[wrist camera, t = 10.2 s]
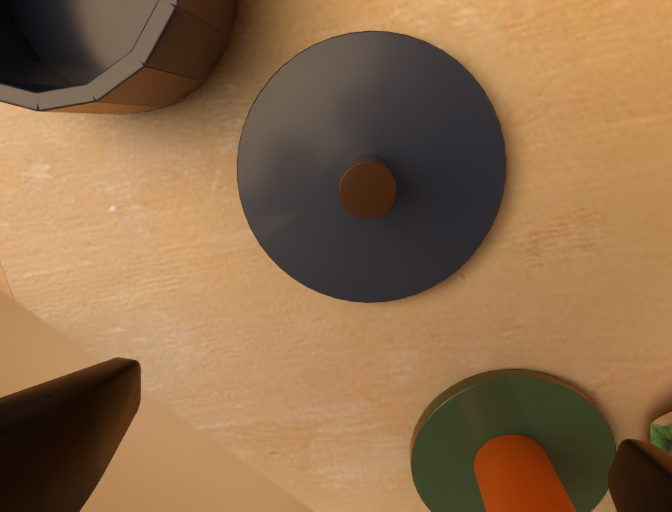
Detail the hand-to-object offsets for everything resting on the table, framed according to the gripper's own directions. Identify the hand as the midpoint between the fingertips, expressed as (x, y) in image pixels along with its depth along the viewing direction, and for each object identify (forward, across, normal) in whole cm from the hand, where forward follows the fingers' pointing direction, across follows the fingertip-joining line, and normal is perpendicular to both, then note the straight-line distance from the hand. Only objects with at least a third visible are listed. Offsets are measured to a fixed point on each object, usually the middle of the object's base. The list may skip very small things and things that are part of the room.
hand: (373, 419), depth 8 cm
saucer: (+13, -9, +10) cm, 18 cm away
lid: (+12, +1, -3) cm, 13 cm away
